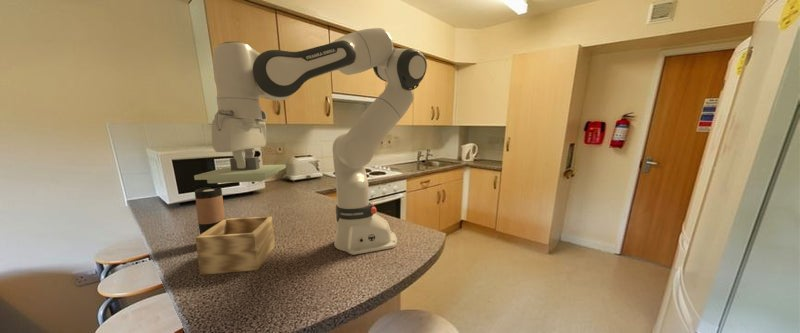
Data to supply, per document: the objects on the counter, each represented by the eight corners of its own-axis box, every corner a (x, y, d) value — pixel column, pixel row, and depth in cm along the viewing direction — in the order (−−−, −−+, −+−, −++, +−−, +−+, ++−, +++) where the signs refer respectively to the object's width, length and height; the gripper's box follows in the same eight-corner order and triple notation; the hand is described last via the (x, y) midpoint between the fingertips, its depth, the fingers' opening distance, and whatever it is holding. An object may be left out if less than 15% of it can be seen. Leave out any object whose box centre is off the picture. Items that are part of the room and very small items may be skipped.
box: (274, 246, 87) (272, 216, 85) (257, 269, 72) (254, 233, 71) (228, 249, 84) (224, 218, 83) (200, 274, 70) (195, 237, 68)
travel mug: (206, 250, 84) (199, 192, 82) (197, 244, 88) (190, 190, 86) (231, 241, 91) (225, 188, 88) (221, 237, 95) (215, 186, 92)
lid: (286, 171, 73) (284, 154, 72) (265, 182, 58) (263, 160, 57) (230, 173, 71) (228, 155, 70) (195, 185, 56) (192, 162, 55)
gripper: (231, 108, 52) (238, 173, 54) (268, 114, 72) (273, 161, 74) (198, 108, 51) (207, 174, 53) (245, 114, 71) (250, 162, 73)
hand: (245, 167), depth 64 cm, fingers closed on lid
